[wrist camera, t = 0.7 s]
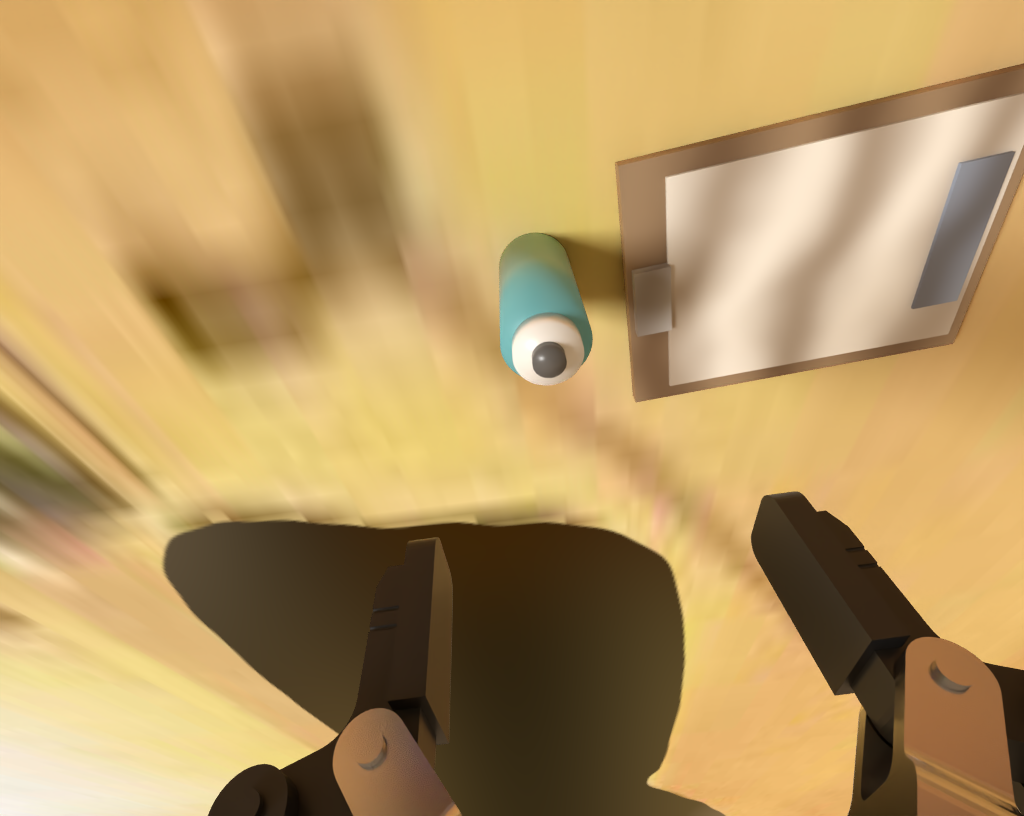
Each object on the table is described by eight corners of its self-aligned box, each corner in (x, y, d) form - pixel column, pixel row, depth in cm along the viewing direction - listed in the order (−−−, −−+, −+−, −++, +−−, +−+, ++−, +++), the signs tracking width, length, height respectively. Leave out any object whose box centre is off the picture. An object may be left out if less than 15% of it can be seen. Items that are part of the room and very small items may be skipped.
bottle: (563, 225, 26) (593, 310, 18) (573, 292, 28) (603, 393, 20) (491, 242, 26) (490, 331, 18) (507, 306, 29) (512, 410, 21)
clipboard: (1054, 56, 22) (1084, 57, 21) (943, 337, 31) (960, 348, 30) (615, 162, 24) (620, 168, 23) (633, 395, 33) (637, 407, 32)
